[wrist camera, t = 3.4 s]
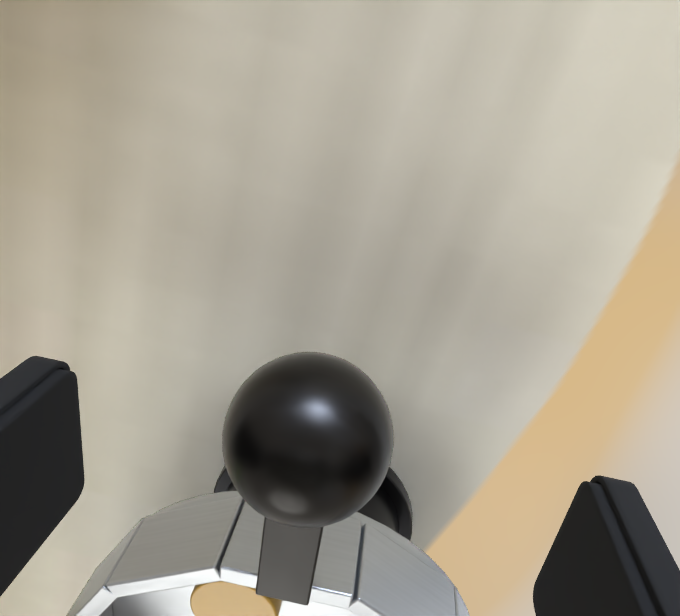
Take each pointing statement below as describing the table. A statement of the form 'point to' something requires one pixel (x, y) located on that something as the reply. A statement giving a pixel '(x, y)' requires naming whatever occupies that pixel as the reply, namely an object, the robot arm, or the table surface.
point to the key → (231, 601)
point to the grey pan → (284, 511)
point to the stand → (368, 503)
